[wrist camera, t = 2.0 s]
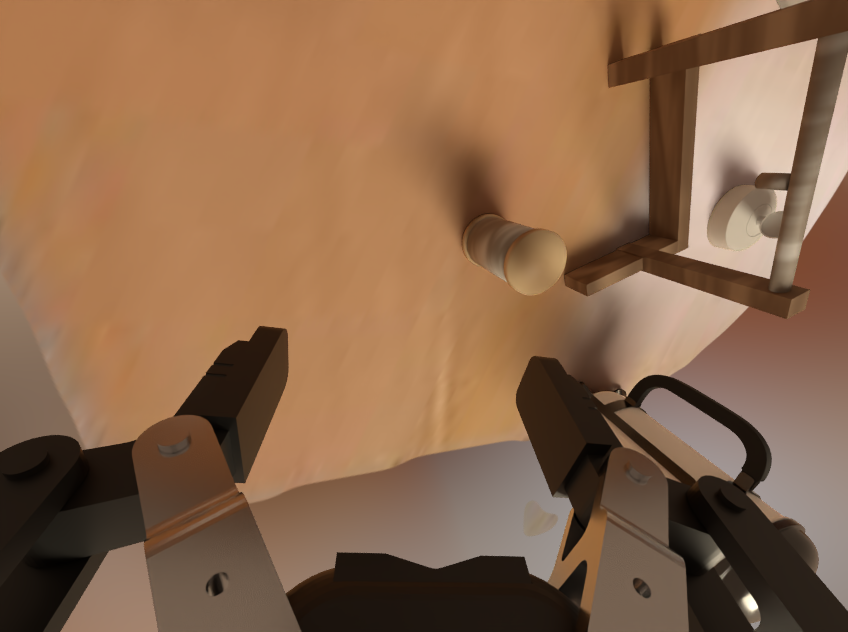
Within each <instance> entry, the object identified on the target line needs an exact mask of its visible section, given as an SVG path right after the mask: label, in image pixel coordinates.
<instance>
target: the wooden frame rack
mask: <svg viewBox="0 0 848 632" xmlns="http://www.w3.org/2000/svg"><path fill="white" fill-rule="evenodd" d="M816 38H818V42H817V47H816V52H815V57H814V62H813V67H812V72H811V77H810V82H809V87H808V92H807V97H806V102H805V107H804V112H803V117H802V121H801V126H800V131H799V136H798V141H797V146H796V151H795V156H794V161H793V166H792V171H791V174H790V173H761V174H760V175H759V176H758V177H757V179H756V181H755V188H757V189H771V190H786V191H787V196H786V201H785V206H784V211H783V216H782V221H781V226H780V231H779V236H778V241H777V246H776V251H775V256H774V261H773V266H772V271H771V276H770V279H767V278H763V277H759V276H755V275H752V274H748V273H744V272H740V271H736V270H732V269H728V268H725V267H721V266H717V265H713V264H709V263H705V262H701V261H698V260H694V259H690V258H686V257H682V256H678V255H674V254H676V253H678V252H680V251H682V250H684V249H686V248H688V237H689V221H690V205H691V190H692V174H693V158H694V142H695V127H696V111H697V95H698V79H699V66H703V65H707V64H711V63H715V62H719V61H724V60H728V59H732V58H736V57H741V56H745V55H749V54H753V53H757V52H762V51H766V50H770V49H774V48H778V47H783V46H787V45H791V44H795V43H800V42H804V41H808V40H812V39H816ZM847 53H848V0H808V1H805V2H801V3H798V4H795V5H792V6H789V7H786V8H782V9H779V10H776V11H773V12H770V13H767V14H764V15H760V16H757V17H754V18H751V19H748V20H745V21H741V22H738V23H735V24H732V25H729V26H726V27H723V28H719V29H716V30H713V31H710V32H707V33H704V34H698V35H695V36H692V37H689V38H685V39H682V40H679V41H676V42H673V43H670V44H667V45H664V46H661V47H658V48H656V49H653V50H650V51H647V52H644V53H641V54H638V55H634V56H631V57H628V58H625V59H622V60H620V61H617V62H615V63H612V64H610V65H608V80H609V88H610V87H614V86H618V85H623V84H627V83H631V82H635V81H639V80H644V79H648V78H650V212H649V235H648V236H646V237H643V238H641V239H639V240H637V241H635V242H633V243H628V244H626V245H624V246H621V247H619V248H617V250H616V251H614V252H612V253H610V254H608V255H605V256H603V257H601V258H599V259H597V260H595V261H593V262H591V263H589V264H586V265H584V266H582V267H580V268H578V269H576V270H574V271H572V272H570V273H567V274H565V275H564V277H565V284H566V286H567V287H569V288H571V289H573V290H575V291H577V292H579V293H582V294H584V295H586V296H590V295H592V294H594V293H596V292H598V291H600V290H602V289H604V288H606V287H608V286H610V285H612V284H614V283H616V282H619V281H621V280H623V279H625V278H627V277H629V276H631V275H633V274H635V273H637V272H639V271H644V272H647V273H650V274H653V275H656V276H659V277H662V278H665V279H668V280H671V281H674V282H677V283H680V284H683V285H686V286H689V287H692V288H695V289H698V290H701V291H704V292H707V293H710V294H713V295H716V296H719V297H722V298H725V299H728V300H731V301H734V302H737V303H740V304H743V305H746V306H749V307H752V308H755V309H758V310H761V311H764V312H767V313H770V314H773V315H776V316H779V317H782V318H785V319H788V318H790V317H792V316H793V315H795V314H797V313H799V312H801V311H803V310H804V309H805V307H806V303H807V299H808V295H809V292H810V290H809V289H805V288H801V287H798V286H794V285H792V283H793V279H794V275H795V271H796V267H797V262H798V258H799V254H800V250H801V246H802V241H803V237H804V233H805V229H806V225H807V221H808V216H809V212H810V208H811V204H812V200H813V195H814V191H815V187H816V183H817V179H818V175H819V170H820V166H821V162H822V158H823V154H824V149H825V145H826V141H827V137H828V133H829V128H830V124H831V120H832V116H833V112H834V108H835V103H836V99H837V95H838V91H839V87H840V82H841V78H842V74H843V70H844V66H845V62H846V57H847Z"/></svg>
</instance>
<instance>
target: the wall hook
mask: <svg viewBox="0 0 848 632" xmlns="http://www.w3.org/2000/svg"><path fill="white" fill-rule="evenodd" d="M776 204H777V199H776V194H775V192H774V190H771V189H757V188H755V186H754V185H739V186H736V187H734V188H732V189H731V190H730V191H728V192H727V193H726V194H725V195H724V196H723V197H722V198H721V199H720V200H719V202H718V203H717V204H716V206H715V208H714V209H713V211H712V213H711V216H710V218H709V222H708V226H707V237H708V240H709V242H710V244H711V245H713V246H714V247H718V248H723V249H727V250H732V251H743V250H745V249H747V248H749V247H751V246H752V245H753V244H755V243H756V242H757V241H758V240H759V239H760V238H761V237H762V236H763V235H764V236H766V237H768V238H778V236H779V231H780V226H781V221H782V216H783V211H779V212H775V210H776Z"/></svg>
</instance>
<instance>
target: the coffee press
mask: <svg viewBox="0 0 848 632" xmlns="http://www.w3.org/2000/svg"><path fill="white" fill-rule="evenodd" d="M580 384H581V385H582V386H583V387H584V389H585V390H586V392H587V393H588V395H589V396H590V400H592V401H593V402H594V404H595V405H596V407H597V410H598V411H600V413H601V414H602V416H603V417H604V419H605V420H606V422H607V423H608V425H609V426H610V428H611V429H612V431H613V432H614V434H615V435H616V437H617V438H618V440H619V441H620V443H621V444H622V446H623V447H624V448H629V449H632V450H635V451H637V452H639V453H641V454H643V455H645V456H646V457H647V458H649V459H650V460H651V461H652V462H654V463H655V464H656V465H657V466H658V467H659V469H660V470H661V471H662V472H663V474H664V475H665V477H666V478H669V479H672V480H675V481H678V482H681V483H684V484H687V485H689V486H693V485H694V484H695V483H696V481H697V480H698V479H699V478H700V477H702V476H705V475H710V476H715V477H718V478H721V479H723V480H725V481H727V482H729V483H731V484H732V485H734V486H736V487H737V488H738V489H740V490H741V491H742V492H744V493H745V494H746V495H747V496H748V497H749V498H750V499H751V500H752V501H753V502H754V503H755V504H756V505H757V506H758V507H759V508H760V510H761V511H762V512H763V513H764V514H765V515H766V517H767V518H768V519H769V520H770V521H771V522H772V524H773V525H774V526H775V527H776V528H777V529H778V531H779V532H780V533H781V534H782V535H783V536H784V538H785V539H786V540H787V541H788V542H789V543H790V545H791V546H792V547H793V548H794V549H795V550H796V552H797V553H798V554H799V555H800V556H801V557H802V559H803V560H804V561H805V562H806V563H807V564H808V566H809V567H810V568H811V569H812V570H813V571H814V573H816V571H817V568H818V561H819V558H818V552H817V549H816V547H815V545H814V544H813V542H812V541H811V540H810V538H809V537H808V536H807V535H806V534H805V528H804V527H803V526H802V525H800V524H799V523H797V522H796V521H795V520H793V519H790V518H788V517H784V516H782V515H781V514H779V513H778V512H777V511H775V510H774V509H773V508H771V507H770V506H768V505H767V504H766V503H765V502H763V501H762V500H761V498H760V496H759V495H757V494H756V493H755V492H754V491H753V489H754V488H755V487H756V486H757V485H758V484H759V483H760V481H764V480H765V479H766V477H767V475H768V473H769V471H770V468H771V460H772V458H771V452H770V449H769V446H768V445H767V443H766V441H765V439H764V438H763V436H762V435H761V434H760V433H759V432H758V430H756V429H755V428H754V427H753V426H752V425H751V424H750V423H749V422H747V421H746V420H745V419H743V418H742V417H740V416H739V415H737V414H736V413H734V412H733V411H731V410H729V409H728V408H726V407H724V406H723V405H721V404H719V403H718V402H716V401H715V400H713V399H711V398H709V397H708V396H706V395H704V394H703V393H701V392H699V391H698V390H696V389H694V388H692V387H691V386H689V385H687V384H685V383H683V382H681V381H679V380H677V379H675V378H671V377H668V376H664V375H651V376H648V377H645V378H643V379H642V380H641V381H639V382H638V383H637V384H636V385H635V387H634V388H633V389H632V391H631V392H630V393H629V395H628V396H626V392H625V391H624V390H622V389H618V390H616V391H615V392H610V391H602V392H597V393H594V394H592V393H591V392H590V390H589V389H588V388H587V386H586V385H585V384H584V383H583V382H580ZM656 388H665V389H668V390H669V391H671V392H672V393H674V394H676V395H677V396H679V397H680V398H682V399H684V400H686V401H687V402H688V403H690V404H691V405H693V406H695V407H696V408H698V409H699V410H701V411H702V412H704V413H706V414H707V415H709V416H710V417H712V418H713V419H715V420H717V421H718V422H720V423H721V424H723V425H724V426H726V427H727V428H729V429H730V430H731V431H732V432H734V433H735V434H736V435H737V436H738V437H739V438H740V440H741V441H742V443H743V445H744V447H745V449H746V453H747V457H746V461H745V464H744V465H743V467H742V471H741V473H740V474H739V475H738V476H737V478H736V479H735V480H734V479H733V478H731V477H730V476H729V475H727V474H726V473H725V472H723V471H722V470H721V469H719V468H718V467H717V466H715V465H714V464H713V463H711V462H710V461H709V460H707V459H706V458H705V457H703V456H702V455H700V454H699V453H698V452H697V451H695V450H694V449H693V448H691V447H690V446H688V445H687V444H686V443H685V442H683V441H682V440H681V439H679V438H678V437H677V436H675V435H674V434H673V433H671V432H670V431H669V430H667V429H666V428H665V427H663V426H662V425H660V424H659V423H658V422H657V421H655V420H654V419H652V418H651V417H650V416H649V415H647V413H646V412H645V411H644V410H643V409H641V408H640V406H641V403H642V402H643V400H644V399H645V397H646V396H647V395H648V393H649V392H650V391H652V390H653V389H656ZM621 395H623V396H625V397H626V398H624V397H623V396H621ZM714 568H715V570H716V571H717V573H718V575H719V576H720V578H721V579H722V581H723V582H724V584H725V585H726V587H727V589H728V590H729V592H730V593H731V595H732V596H733V598H734V599H735V601H736V602H737V604H738V606H739V607H740V609H741V610H742V612H743V613H744V615H745V616H746V618H747V620H748V621H749V623H754V622H758V621H760V620H761V617H760V612H759V608H758V606H757V604H756V602H755V600H754V599H753V597H752V596H751V594H750V593H749V591H748V590H747V588H746V587H745V586H744V584H743V583H742V581H741V580H740V578H739V577H738V575H737V574H736V572H735V571H734V570H733V568H732V567H731V565H730V564H729V562H728V561H727V559H726V558H724V559H722V560H721V561H720V562H719V563H717V564H716V565H715V566H714Z"/></svg>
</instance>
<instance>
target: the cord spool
mask: <svg viewBox="0 0 848 632" xmlns="http://www.w3.org/2000/svg"><path fill="white" fill-rule="evenodd" d="M462 249H463V252H464V255H465V256H466V258H467V259H468V260H469V261H470V262H472V263H473V264H475V265H477V266H479V267H483V268H485V269H486V270H488V271H490V272H491V273H493V274H494V275H496V276H498V277H499V278H501V279H503V280H504V281H506V282H507V283H508V284H509V285H510V286H511V287H512V288H513V289H515V290H516V291H518V292H519V293H521V294H524V295H537V294H541V293H543V292H545V291H546V290H548V289H549V288H551V287H552V286H553V285H554V284H555V283H556V282H557V281H558V279H559V278H560V276H561V274H562V273H563V270H564V268H565V264H566V259H567V251H566V246H565V243H564V241H563V240H562V238H561V237H560V236H559V235H558V234H556V233H554V232H552V231H549V230H545V229H534V228H530V227H527V226H524V225H521V224H517V223H514V222H511V221H507V220H505V219H504V218H502V217H500V216H498V215H494V214H483V215H480V216H478V217H476V218H475V219H474V220H472V221H471V222H470V224H469V225H468V226H467V228H466V229H465V232H464V234H463V238H462Z"/></svg>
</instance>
